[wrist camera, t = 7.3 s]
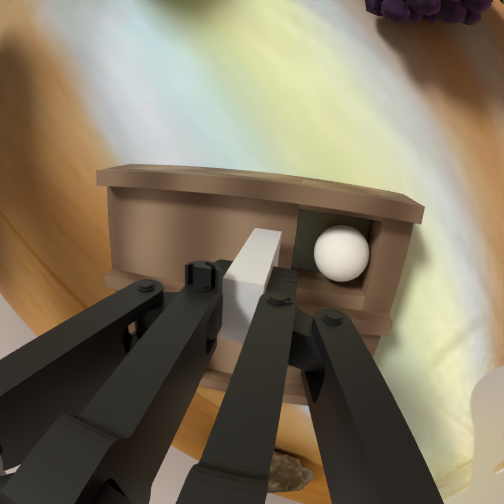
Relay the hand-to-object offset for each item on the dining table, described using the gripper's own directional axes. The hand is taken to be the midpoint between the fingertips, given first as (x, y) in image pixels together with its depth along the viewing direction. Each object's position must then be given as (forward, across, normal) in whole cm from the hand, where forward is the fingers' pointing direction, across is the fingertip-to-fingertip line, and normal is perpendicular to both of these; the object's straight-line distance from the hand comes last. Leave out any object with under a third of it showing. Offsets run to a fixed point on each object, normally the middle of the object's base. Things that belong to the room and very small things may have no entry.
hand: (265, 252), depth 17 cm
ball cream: (+2, +5, 0) cm, 5 cm away
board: (+4, -2, -4) cm, 6 cm away
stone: (+5, +2, -29) cm, 29 cm away
